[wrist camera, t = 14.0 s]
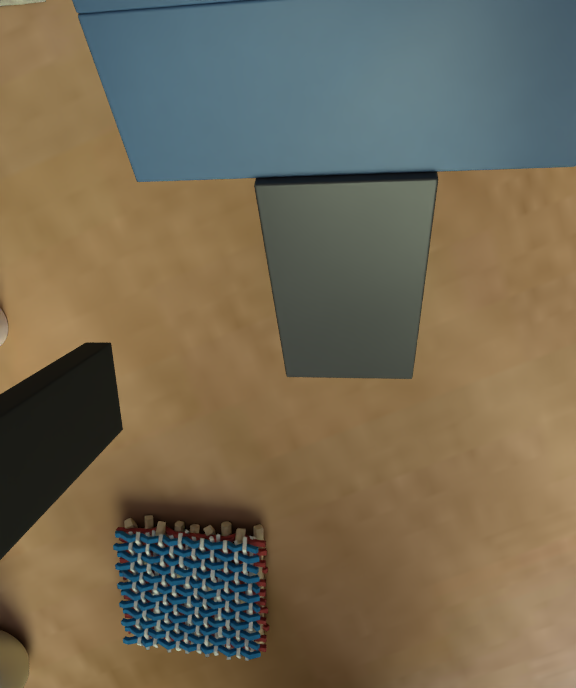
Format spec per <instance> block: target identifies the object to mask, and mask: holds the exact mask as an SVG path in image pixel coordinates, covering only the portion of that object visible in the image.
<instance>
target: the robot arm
mask: <svg viewBox="0 0 576 688" xmlns="http://www.w3.org/2000/svg"><path fill="white" fill-rule="evenodd" d="M122 430H123V428H122V420H121V413H120V406H119V398H118V391H117V383H116V376H115V369H114V361H113V354H112V347H111V343H84V344H83V345H81V346H79V347H78V348H76V349H75V350H73V351H71V352H70V353H68V354H66V355H65V356H63V357H61V358H60V359H58V360H56V361H55V362H53V363H51V364H50V365H48V366H46V367H45V368H43V369H41V370H40V371H38V372H37V373H35V374H33V375H32V376H30V377H28V378H27V379H25V380H23V381H22V382H20V383H18V384H17V385H15V386H13V387H12V388H10V389H8V390H7V391H5V392H4V393H2V394H0V560H1V559H2V558H3V557H4V555H5V554H6V553H7V552H8V551H9V550H10V549H11V548H12V547H13V546H14V545H15V544H16V543H17V542H18V541H19V539H20V538H21V537H22V536H23V535H24V534H25V533H26V532H27V531H28V530H29V529H30V528H31V527H32V526H33V525H34V523H35V522H36V521H37V520H38V519H39V518H40V517H41V516H42V515H43V514H44V513H45V512H46V511H47V510H48V509H49V508H50V506H51V505H52V504H53V503H54V502H55V501H56V500H57V499H58V498H59V497H60V496H61V495H62V494H63V493H64V492H65V490H66V489H67V488H68V487H69V486H70V485H71V484H72V483H73V482H74V481H75V480H76V479H77V478H78V477H79V476H80V474H81V473H82V472H83V471H84V470H85V469H86V468H87V467H88V466H89V465H90V464H91V463H92V462H93V461H94V460H95V459H96V457H97V456H98V455H99V454H100V453H101V452H102V451H103V450H104V449H105V448H106V447H107V446H108V445H109V444H110V443H111V441H112V440H113V439H114V438H115V437H116V436H117V435H118V434H119V433H120V432H121V431H122Z"/></svg>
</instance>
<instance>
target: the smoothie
mask: <svg viewBox="0 0 576 688" xmlns="http://www.w3.org/2000/svg"><path fill="white" fill-rule="evenodd" d="M7 334H8V323H7V319H6V316H5V314H4V312H3V311H2V309H1V308H0V346H1V345H2V344H3V343H4V341H5V340H6V337H7Z"/></svg>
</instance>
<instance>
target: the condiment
mask: <svg viewBox="0 0 576 688" xmlns="http://www.w3.org/2000/svg"><path fill="white" fill-rule="evenodd" d="M36 2H46V0H0V6H6V5H19V4H27V3H36Z"/></svg>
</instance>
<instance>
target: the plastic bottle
mask: <svg viewBox="0 0 576 688" xmlns="http://www.w3.org/2000/svg"><path fill="white" fill-rule="evenodd" d="M28 676H29V657H28V654H27V651H26V649H25V648H24V646H23V645H22V644H21V643H20V642H19V641H18V640H17V639H16V638H15V637H13V636H12V635H10V634H8V633H6V632H4V631H1V630H0V688H24V685H25V683H26V681H27V679H28Z"/></svg>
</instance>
